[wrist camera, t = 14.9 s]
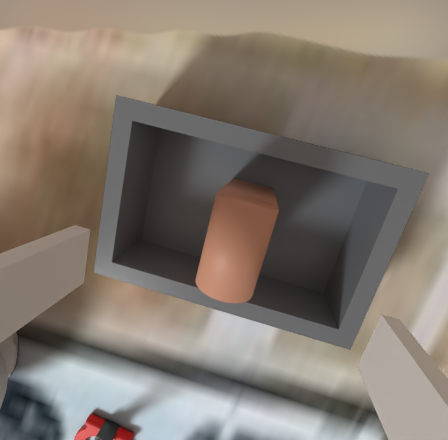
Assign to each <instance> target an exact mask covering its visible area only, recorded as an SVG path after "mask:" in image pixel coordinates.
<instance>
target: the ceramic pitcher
mask: <svg viewBox="0 0 448 440" xmlns="http://www.w3.org/2000/svg"><path fill="white" fill-rule="evenodd" d="M17 349H18V335H17V333H16V332H15V333H13V334H12V335H11V336H9V337H8V338H6V339H5V340H4V341H2V342H1V343H0V408H1V405H2V402H3V399H4V396H5V392H6V387H7V377H10V376H11V374H12V372H13V370H14V368H15V365H16V360H17Z"/></svg>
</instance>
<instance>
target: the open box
mask: <svg viewBox="0 0 448 440" xmlns="http://www.w3.org/2000/svg"><path fill="white" fill-rule="evenodd" d="M428 174H429V173H425V172H421V171H417V170H413V169H409V168H405V167H401V166H397V165H393V164H389V163H385V162H381V161H377V160H373V159H369V158H365V157H361V156H357V155H353V154H349V153H345V152H341V151H337V150H333V149H329V148H325V147H321V146H317V145H313V144H309V143H305V142H301V141H297V140H293V139H289V138H285V137H281V136H277V135H273V134H269V133H265V132H261V131H257V130H253V129H249V128H245V127H241V126H237V125H233V124H229V123H225V122H221V121H217V120H213V119H210V118H206V117H202V116H198V115H194V114H190V113H186V112H182V111H178V110H174V109H170V108H166V107H162V106H158V105H154V104H150V103H146V102H142V101H138V100H134V99H130V98H126V97H122V96H118V95H116V102H115V109H114V117H113V125H112V133H111V141H110V149H109V157H108V164H107V172H106V180H105V188H104V196H103V204H102V212H101V219H100V227H99V235H98V243H97V251H96V259H95V267H94V273H97V274H100V275H103V276H107V277H110V278H113V279H117V280H120V281H123V282H126V283H130V284H133V285H136V286H140V287H143V288H146V289H150V290H153V291H156V292H160V293H163V294H166V295H170V296H173V297H176V298H180V299H183V300H186V301H190V302H193V303H196V304H200V305H203V306H206V307H210V308H213V309H216V310H220V311H223V312H226V313H230V314H233V315H236V316H240V317H243V318H246V319H250V320H253V321H256V322H260V323H263V324H266V325H270V326H273V327H276V328H280V329H283V330H286V331H290V332H293V333H296V334H299V335H303V336H306V337H309V338H313V339H316V340H319V341H323V342H326V343H329V344H333V345H336V346H339V347H343V348H346V349H349V350H350V349H351V347H352V345H353V343H354V340H355V338H356V336H357V334H358V331H359V329H360V327H361V325H362V322H363V320H364V318H365V316H366V313H367V311H368V309H369V307H370V304H371V302H372V300H373V298H374V296H375V293H376V291H377V289H378V287H379V284H380V282H381V280H382V278H383V275H384V273H385V271H386V269H387V266H388V264H389V262H390V260H391V257H392V255H393V253H394V251H395V248H396V246H397V244H398V242H399V239H400V237H401V235H402V233H403V230H404V228H405V226H406V224H407V221H408V219H409V217H410V215H411V213H412V210H413V208H414V206H415V204H416V201H417V199H418V197H419V195H420V192H421V190H422V188H423V186H424V183H425V181H426V179H427V177H428ZM233 178H236V179H239V180H243V181H247V182H251V183H255V184H258V185H262V186H266V187H270V188H273V189H274V193H275V197H276V201H277V205H278V209H279V212H278V215H277V218H276V222H275V225H274V228H273V231H272V235H271V238H270V241H269V244H268V247H267V251H266V254H265V257H264V260H263V264H262V267H261V270H260V273H259V277H258V280H257V283H256V286H255V290H254V293H253V296H252V298H251V299H250V300H248V301H246V302H243V303H227V302H222V301H219V300H216V299H213V298H211V297H209V296H207V295H206V294H204V293H203V292H202V291H201V290H200V289H199V288H198V287H197V285H196V276H197V271H198V267H199V263H200V259H201V255H202V251H203V246H204V242H205V238H206V234H207V230H208V226H209V222H210V217H211V213H212V209H213V205H214V201H215V197H216V193H217V192H218V191H220V190H221V189H222V188H223V187H224V186H225V185H226V184H227V183H228V182H229V181H230V180H232V179H233Z"/></svg>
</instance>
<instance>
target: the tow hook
mask: <svg viewBox="0 0 448 440" xmlns="http://www.w3.org/2000/svg"><path fill="white" fill-rule="evenodd" d="M133 435H134V433H132V432H130V431H128V430H125V429H123V428H121V427H120V426H119V425H117V424H115V423H113V422H111V421H109V420H104V419H102V418H100V417H98V416H96V415H94V414H90V415H89V417H88V418H87V420H86V423H85V426H83V427H82V428H80V430H79V431H78V433H77V434H76V436H75V439H74V440H86V439H87V438H88V437H91V436H96V437H95V440H113V439H114V440H132V438H133Z"/></svg>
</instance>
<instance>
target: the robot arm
mask: <svg viewBox="0 0 448 440" xmlns="http://www.w3.org/2000/svg"><path fill="white" fill-rule="evenodd" d="M89 238H90V229H87V228H84V227H80V226H77V225H74V226H71V227H68V228H66V229H63V230H60V231H58V232H55V233H52V234H50V235H47V236H45V237H42V238H39V239H37V240H34V241H31V242H29V243H26V244H23V245H21V246H18V247H16V248H13V249H10V250H8V251H5V252H2V253H0V343H1V342H2V341H4V340H5V339H6V338H8V337H9V336H11V335H12V334H13V333H15V332H16V331H18V330H19V329H20V328H22V327H23V326H24V325H26V324H27V323H29V322H30V321H31V320H33V319H34V318H36V317H37V316H38V315H40V314H41V313H43V312H44V311H45V310H47V309H48V308H50V307H51V306H52V305H54V304H55V303H57V302H58V301H59V300H61V299H62V298H63V297H65V296H66V295H68V294H69V293H70V292H72V291H73V290H75V289H76V288H77V287H79V286H80V285H82V284H83V283H84V278H85V270H86V262H87V254H88V246H89ZM357 368H358V370H359V372H360V375H361V377H362V379H363V382H364V384H365V386H366V389H367V391H368V393H369V396H370V398H371V400H372V403H373V405H374V407H375V410H376V412H377V414H378V417H379V419H380V421H381V424H382V426H383V428H384V430H385V433H386V435H387V437H388V440H448V379H447V378H446V376H445V375H444V374H443V373H442V371H441V370H440V369H439V368H438V366H437V365H436V364H435V363H434V362H433V360H432V359H431V358H430V357H429V355H428V354H427V353H426V352H425V350H424V349H423V348H422V347H421V345H420V344H419V343H418V342H417V340H416V339H415V338H414V337H413V336H412V334H411V333H410V332H409V331H408V329H407V328H406V327H405V326H404V324H403V323H402V322H401V321H400V320H399V319H395V318H392V317H388V316H385V315H382V314H381V316H380V318H379V321H378V323H377V325H376V327H375V329H374V331H373V334H372V336H371V338H370V340H369V342H368V345H367V347H366V349H365V351H364V353H363V356H362V358H361V360H360V362H359V364H358V367H357Z"/></svg>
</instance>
